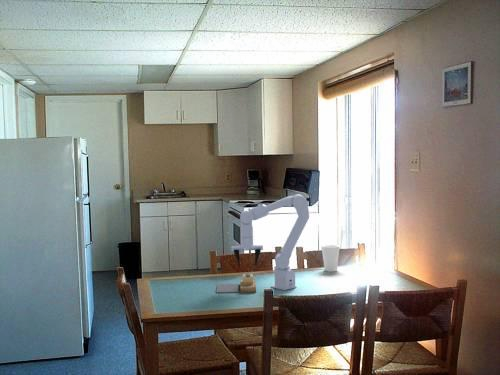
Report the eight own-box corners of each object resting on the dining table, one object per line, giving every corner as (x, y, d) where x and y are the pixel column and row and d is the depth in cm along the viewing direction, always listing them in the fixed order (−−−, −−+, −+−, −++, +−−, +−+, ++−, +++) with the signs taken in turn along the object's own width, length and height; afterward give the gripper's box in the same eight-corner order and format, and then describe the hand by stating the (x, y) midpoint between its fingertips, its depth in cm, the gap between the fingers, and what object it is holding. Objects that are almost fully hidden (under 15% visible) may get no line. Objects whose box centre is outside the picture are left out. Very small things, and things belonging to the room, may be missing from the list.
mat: (238, 292, 264) (238, 291, 264) (216, 293, 264) (216, 292, 264) (238, 284, 280) (238, 283, 280) (217, 285, 280) (217, 284, 280)
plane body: (256, 292, 263) (255, 287, 263) (240, 293, 263) (240, 287, 263) (255, 283, 281) (255, 278, 281) (240, 284, 281) (240, 278, 281)
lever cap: (252, 284, 269) (252, 275, 269) (243, 284, 269) (242, 275, 269) (252, 281, 276) (252, 272, 276) (243, 281, 276) (242, 272, 276)
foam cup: (340, 271, 305) (340, 247, 304) (323, 272, 305) (322, 247, 304) (338, 268, 314) (338, 244, 314) (321, 268, 315) (320, 244, 314)
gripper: (262, 235, 276) (262, 263, 277) (231, 236, 275) (231, 264, 276) (262, 237, 269) (263, 266, 270) (231, 238, 268) (231, 267, 269)
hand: (247, 265), depth 272 cm, fingers open, 7 cm apart
